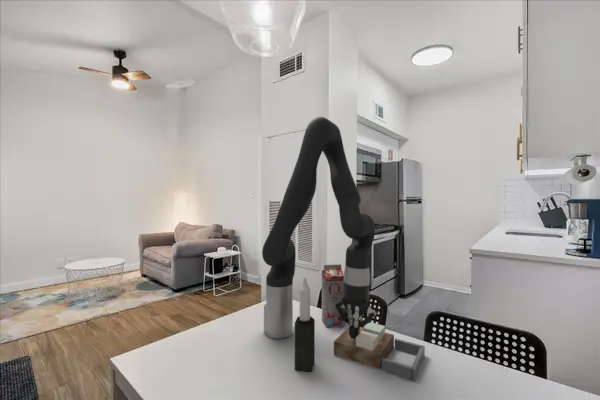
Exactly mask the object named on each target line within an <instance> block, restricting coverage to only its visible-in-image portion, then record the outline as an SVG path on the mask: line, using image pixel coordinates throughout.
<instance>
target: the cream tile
mask: <svg viewBox="0 0 600 400" xmlns="http://www.w3.org/2000/svg"><path fill="white" fill-rule="evenodd" d="M377 345H378V335H376V334H372V333H369V332H365V331H362V332H361V333H360V334H359V335H358V336H357V337H356V346H357V347H361V348H364V349H367V350H370V351H373V350H374V349H375V347H376V346H377Z"/></svg>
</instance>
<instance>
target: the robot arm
mask: <svg viewBox="0 0 600 400" xmlns="http://www.w3.org/2000/svg"><path fill="white" fill-rule="evenodd" d="M322 153H323V154H324V156H325V158H326V160H327V163H328V166H329V174H330V182H331V189H332V191H333V194H334V196H335V200H336V202H337V205H338V211H339V219H340V224H341V229H342V230H343V233H344V234H345V235H346V236H347V237H348V238H349V239H352V240H351V243H350V245H349V246H348V247H346V251H345V262H344V263H345V265H344V266H345V267H344V271H343V272H344V273H343V275H344V291H343V295H344V296H343V298H342V301H339V302H338V303H336V304H335V307H336V308H337V310H338V312H339V314H340V316H341V317H342V319H343V321H344V323H347V324H348V327H349V336H351V338H352V339H356V337H357V336H358V335H359V334H360V327H362V328H363V327H366V326H367V325H368V324H369V323H370V321H371V320H373V318H375V316H376V315H377V314H378V312H377V311H376V310H374V309H373V308H372V307H371V303H370V301H369V298H370V282H371V277H370V276H371V275H370V273H371V271H370V261H371V260H370V258H371V255H370V254H371V249H372V246H373V241H374V238H375V232H376V231H375V230H376V228H375V227H376V226H375V221H374V219H373V218H372V217H371V216H370V215H369V214H366V213H361V212H360V208H359V205H360V204H361V202H362V198H361V196H360V193H359V189H358V188H357V185H356V182H355V179H354V177H353V175H352V172H351V170H350V166H349V163H348V160H347V157H346V152H345V148H344V143H343V139H342V133H341V130H340V128H339V127H338V126H337V124H335V123H334V122H333V121H331V120H330V119H328V118H327V117H324V116H315V117H314V118H313V119H311V121H309V122H308V124H307V126H306V128H305V130H304V133H303V138H302V142H301V146H300V151H299V154H298V157H297V161H296V162H295V166H294V169H293V172H292V175H291V177H290V180H289V181H288V184H287V187H286V190H285V192H284V196H283V197H282V198H283V199H282V201H281V204H280V206H279V209H278V212H277V216H276V218H275V221H274V223H273V225H272V228H271V230H270V231H269V233H268V236H267V238H266V239H265V241H264V243H263V247H262V251H261V254H262V259H263V261H264V262H265V264H266V265H267V266H269V267H270V266H271V267H270V268H269V269H270V270H269V272H268V273H267V274H266V277H265V279H266V280H265V282H266V283H265V284H266V285H265V286H266V287H265V292H266V293H265V295H266V297H265V299H266V300H265V304H264V305H263V333H265V334H266V336H267V337H269V338H270V339H277V340H279V339H286V338H288V337H290V336H292V335H293V332H294V331H293V330H294V326H293V324H294V323H293V322H294V321H293V320H294V319H293V317H294V312H293V311H294V307H293V306H294V305H293V303H294V302H293V301H294V298H293V297H294V296H293V295H294V294H293V293H294V292H293V291H294V287H293V285H294V284H293V283H294V276H295V273H296V272H295V271H296V246H295V244H294V243H295V242H293V240H292V236H293V234H294V231H295V230H296V228H297V227H298V225H299V224H300V222H301V221H302V220H303V218H304V217H305V216H306V213H307V212H308V210H309V208H310V207H311V204H312V201H313V199H314V197H315V193H316V189H317V180H318V179H317V176H318V174H317V171H318V164H319V161H320V158H321V155H322ZM365 313H366V316H367V317H366V318H364V319H363V315H364V314H365ZM362 319H363V320H362Z"/></svg>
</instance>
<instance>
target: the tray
mask: <svg viewBox="0 0 600 400" xmlns="http://www.w3.org/2000/svg"><path fill="white" fill-rule="evenodd" d="M425 349H426V347H425V345H421V344H417V343H414V342H410V341H406V340H403V339H399V338H395V337H394V350H395V351H400V352H403V353H407V354H409V355H414V356H415V358H414V360H413V362H412V365H411V366H410V365H406V364H404V363H401V362H398V361H393V360H391V359H388V358H387V359H385V358H383V359H382V367H381V371H382V372H385V373H388V374H389V375H390V374H391V375H393V376H397V377H400V378H402V379H405V380H409V381H412V382H416V379H417V377H418V375H419V371H420V369H421V366H422V364H423V361H424V360H425V355H426V352H425V351H426V350H425Z"/></svg>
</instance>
